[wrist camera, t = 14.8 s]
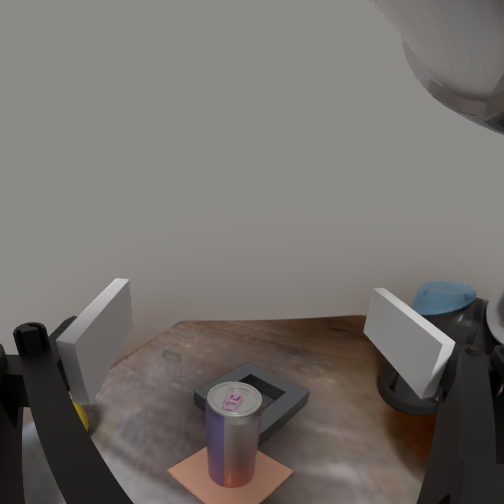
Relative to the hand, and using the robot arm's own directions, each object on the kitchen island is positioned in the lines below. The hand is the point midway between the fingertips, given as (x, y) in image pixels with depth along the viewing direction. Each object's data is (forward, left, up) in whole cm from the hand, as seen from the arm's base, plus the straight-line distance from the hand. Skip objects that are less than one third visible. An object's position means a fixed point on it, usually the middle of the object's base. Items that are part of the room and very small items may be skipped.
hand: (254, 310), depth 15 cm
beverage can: (-7, -7, -30) cm, 31 cm away
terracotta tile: (-7, -7, -30) cm, 32 cm away
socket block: (-21, -15, -30) cm, 39 cm away
